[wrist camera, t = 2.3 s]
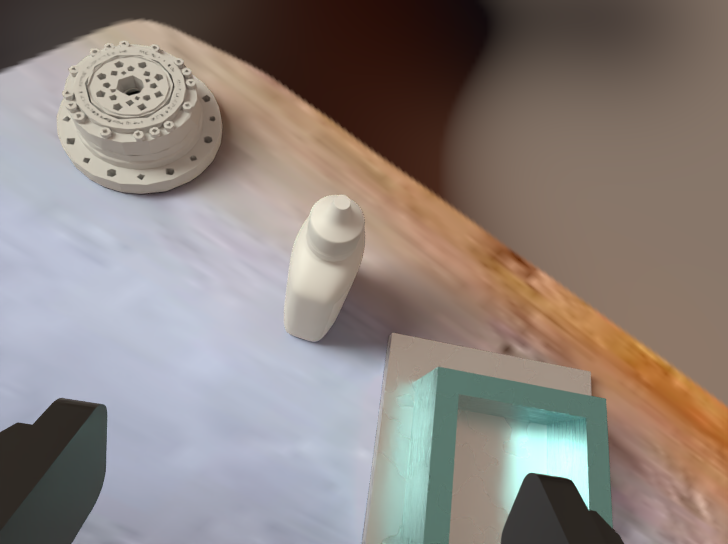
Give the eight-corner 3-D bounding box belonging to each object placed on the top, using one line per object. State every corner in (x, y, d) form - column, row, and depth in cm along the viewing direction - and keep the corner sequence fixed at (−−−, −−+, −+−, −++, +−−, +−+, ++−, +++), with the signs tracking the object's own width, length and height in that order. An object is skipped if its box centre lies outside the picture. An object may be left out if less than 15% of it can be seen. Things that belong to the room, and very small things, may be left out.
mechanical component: (98, 220, 31) (247, 164, 34) (74, 180, 27) (245, 122, 30) (41, 100, 33) (186, 59, 37) (11, 47, 29) (176, 7, 33)
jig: (591, 677, 26) (660, 718, 22) (348, 646, 25) (367, 684, 20) (581, 374, 33) (633, 357, 28) (388, 336, 31) (410, 312, 27)
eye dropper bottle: (370, 295, 32) (425, 200, 21) (305, 354, 30) (329, 282, 19) (323, 248, 33) (353, 132, 22) (256, 302, 30) (252, 203, 19)
